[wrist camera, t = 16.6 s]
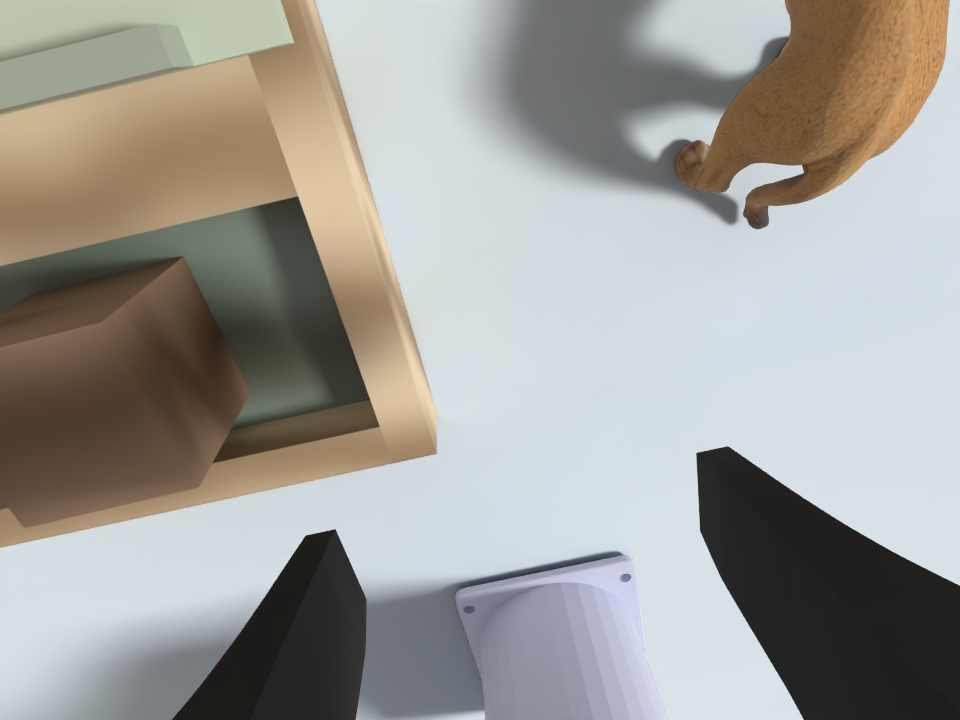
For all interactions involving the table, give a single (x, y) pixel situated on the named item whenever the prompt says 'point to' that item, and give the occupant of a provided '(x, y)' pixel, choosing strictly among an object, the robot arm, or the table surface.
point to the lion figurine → (825, 99)
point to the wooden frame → (231, 254)
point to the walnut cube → (112, 393)
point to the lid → (122, 42)
